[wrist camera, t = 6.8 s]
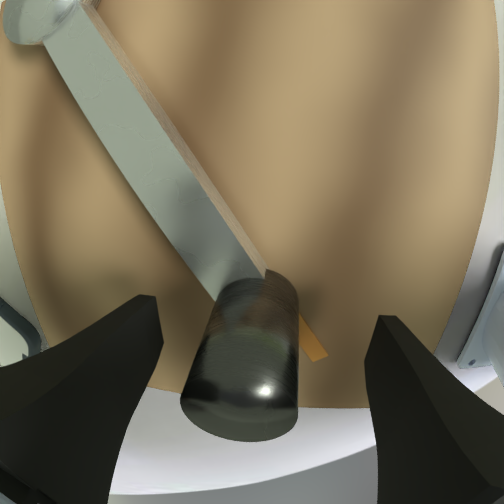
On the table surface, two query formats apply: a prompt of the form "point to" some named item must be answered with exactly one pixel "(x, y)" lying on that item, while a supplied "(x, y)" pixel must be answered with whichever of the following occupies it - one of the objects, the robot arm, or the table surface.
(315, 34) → the lever board
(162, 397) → the table surface
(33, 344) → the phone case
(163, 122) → the lever
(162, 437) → the table surface
